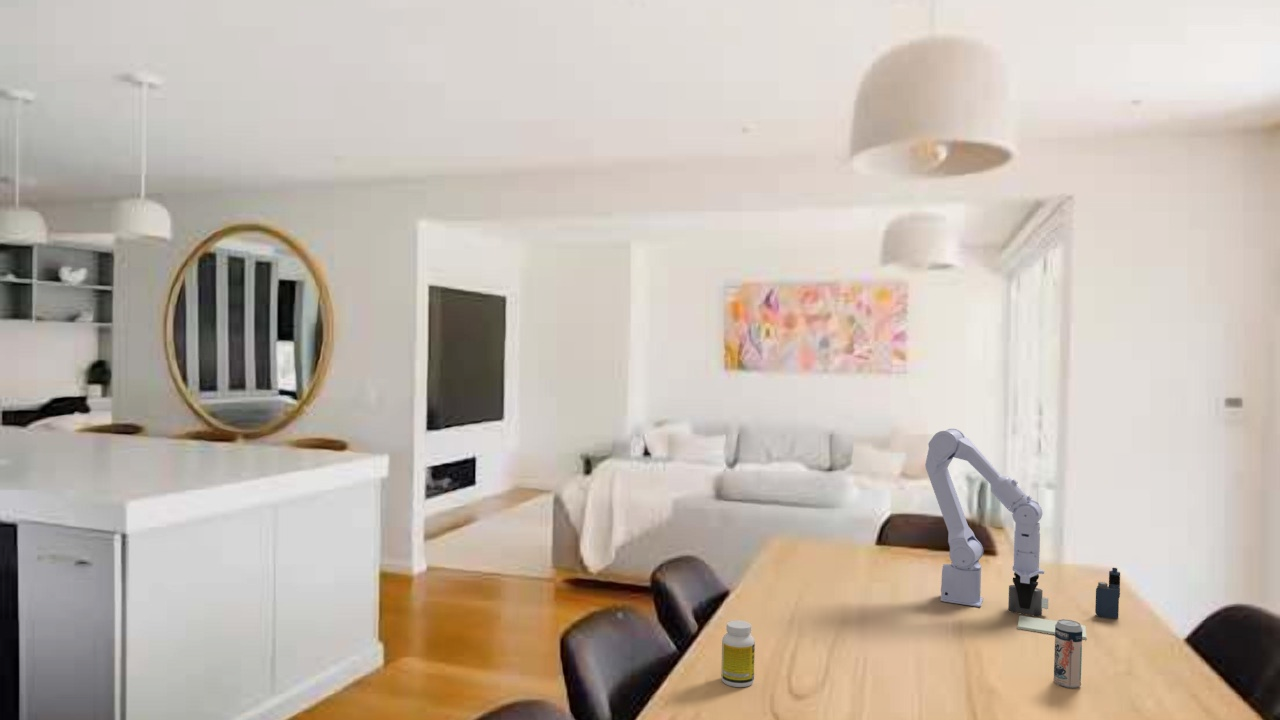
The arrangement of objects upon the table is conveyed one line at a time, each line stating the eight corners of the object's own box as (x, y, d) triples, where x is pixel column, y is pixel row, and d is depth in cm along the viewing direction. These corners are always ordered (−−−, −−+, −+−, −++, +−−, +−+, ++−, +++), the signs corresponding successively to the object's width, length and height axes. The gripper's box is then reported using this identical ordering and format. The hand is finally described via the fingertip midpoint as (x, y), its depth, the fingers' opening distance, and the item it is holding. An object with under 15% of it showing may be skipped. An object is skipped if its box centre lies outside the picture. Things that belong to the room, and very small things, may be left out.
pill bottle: (758, 687, 155) (760, 628, 155) (727, 689, 154) (728, 630, 153) (747, 674, 161) (748, 618, 161) (717, 676, 160) (718, 619, 159)
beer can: (1048, 679, 162) (1050, 618, 161) (1071, 679, 162) (1073, 618, 162) (1062, 689, 157) (1064, 627, 157) (1086, 689, 157) (1088, 626, 157)
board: (1017, 628, 191) (1017, 626, 191) (1019, 617, 199) (1019, 615, 199) (1086, 639, 185) (1086, 637, 185) (1085, 628, 193) (1085, 625, 193)
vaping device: (1120, 619, 200) (1122, 569, 200) (1097, 617, 201) (1098, 568, 201) (1117, 615, 202) (1118, 567, 202) (1093, 614, 203) (1095, 565, 203)
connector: (1007, 611, 204) (1008, 587, 204) (1008, 608, 207) (1009, 584, 207) (1047, 617, 200) (1048, 593, 200) (1048, 613, 203) (1048, 589, 203)
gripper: (1044, 559, 195) (1042, 616, 195) (1045, 546, 208) (1043, 600, 208) (1011, 555, 198) (1009, 611, 198) (1014, 543, 211) (1013, 595, 211)
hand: (1025, 605), depth 204 cm, fingers open, 4 cm apart
